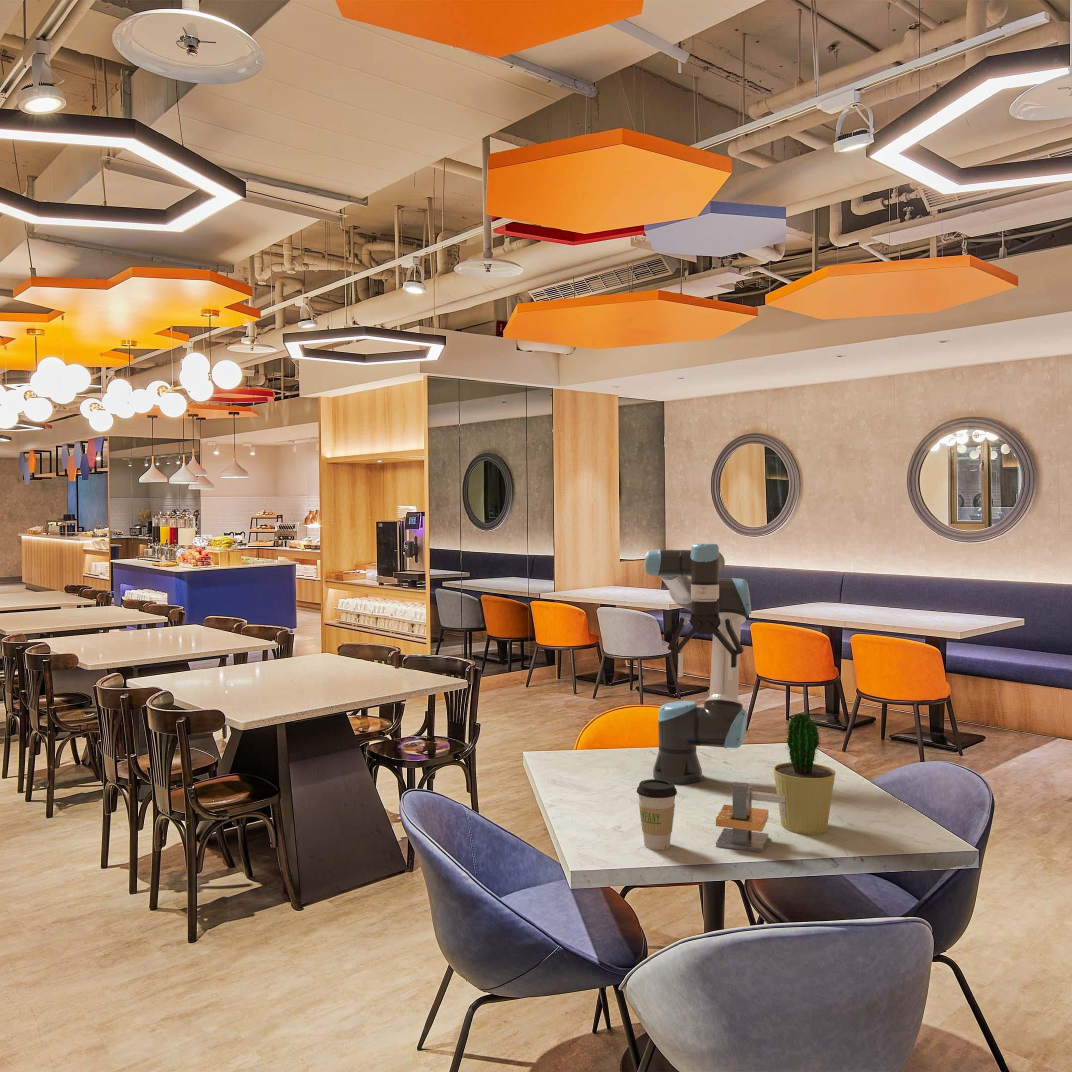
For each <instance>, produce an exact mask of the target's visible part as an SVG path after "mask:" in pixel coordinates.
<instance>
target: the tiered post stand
mask: <svg viewBox="0 0 1072 1072" xmlns="http://www.w3.org/2000/svg"><path fill="white" fill-rule="evenodd" d="M752 801H756V802H766V803H774V804H775V803H776V804H778V803H782V818H785V817H786V795H782V794H777V793H772V792H765V791H763V792H762V791H753V790H752V786H751V785H749V784H748V821H743V820H734V819H733V804H731V805H730V804H723V806H722V807H721V808H720V811H719V812H718V814H717V815H716V817H715V827H721V828H723V829H722V831H721V832H720V835H719V836H718V838H717V839H716V842H715V847H716V848H725V849H731V850H738V851H745V852H751V853H752V852H754V853H760V854H762V853H763V851H764V850H765V847H766V844H767V842H768V840H769V837H770V836H769V833H767V832H763V830H764V828H765V827H766V824H767V822H768V820H769V809H765V808H758V807H757V808H756V807H752ZM733 828H735V829H743V830H748V842H747V844H746V845H743V844H736V843H733Z"/></svg>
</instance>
